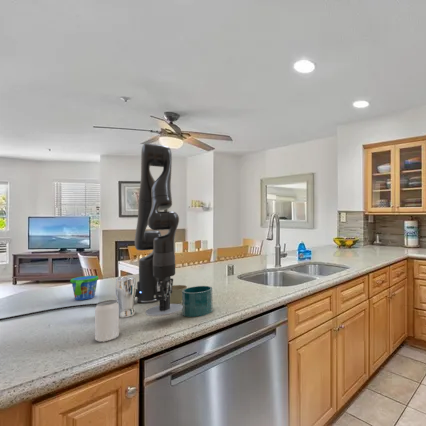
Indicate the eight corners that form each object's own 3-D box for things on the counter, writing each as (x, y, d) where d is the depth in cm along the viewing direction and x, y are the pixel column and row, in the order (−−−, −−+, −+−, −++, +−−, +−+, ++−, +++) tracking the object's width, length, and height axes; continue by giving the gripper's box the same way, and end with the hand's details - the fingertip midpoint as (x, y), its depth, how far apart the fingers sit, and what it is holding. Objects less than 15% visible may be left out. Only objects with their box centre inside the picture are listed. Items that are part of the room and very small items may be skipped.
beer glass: (140, 313, 122) (139, 277, 122) (124, 318, 115) (123, 281, 115) (128, 311, 124) (127, 276, 124) (111, 317, 118) (111, 279, 118)
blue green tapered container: (81, 294, 150) (81, 274, 150) (105, 293, 152) (104, 273, 152) (62, 304, 135) (62, 282, 135) (88, 302, 137) (88, 280, 137)
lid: (143, 320, 104) (143, 302, 104) (147, 309, 115) (147, 293, 115) (183, 314, 109) (183, 297, 109) (183, 304, 121) (182, 289, 121)
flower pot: (177, 307, 130) (177, 290, 129) (157, 305, 132) (157, 289, 131) (191, 300, 139) (191, 285, 139) (173, 299, 141) (173, 284, 141)
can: (103, 334, 101) (103, 299, 101) (123, 333, 101) (123, 299, 101) (90, 342, 95) (90, 305, 94) (111, 341, 95) (111, 305, 95)
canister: (182, 318, 115) (182, 294, 115) (182, 309, 126) (182, 287, 126) (213, 314, 120) (213, 291, 120) (211, 305, 131) (210, 284, 131)
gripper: (160, 260, 118) (160, 303, 119) (146, 267, 105) (146, 315, 105) (180, 260, 120) (180, 302, 120) (168, 266, 106) (169, 313, 106)
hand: (164, 308), depth 112 cm, fingers closed on lid, 3 cm apart
